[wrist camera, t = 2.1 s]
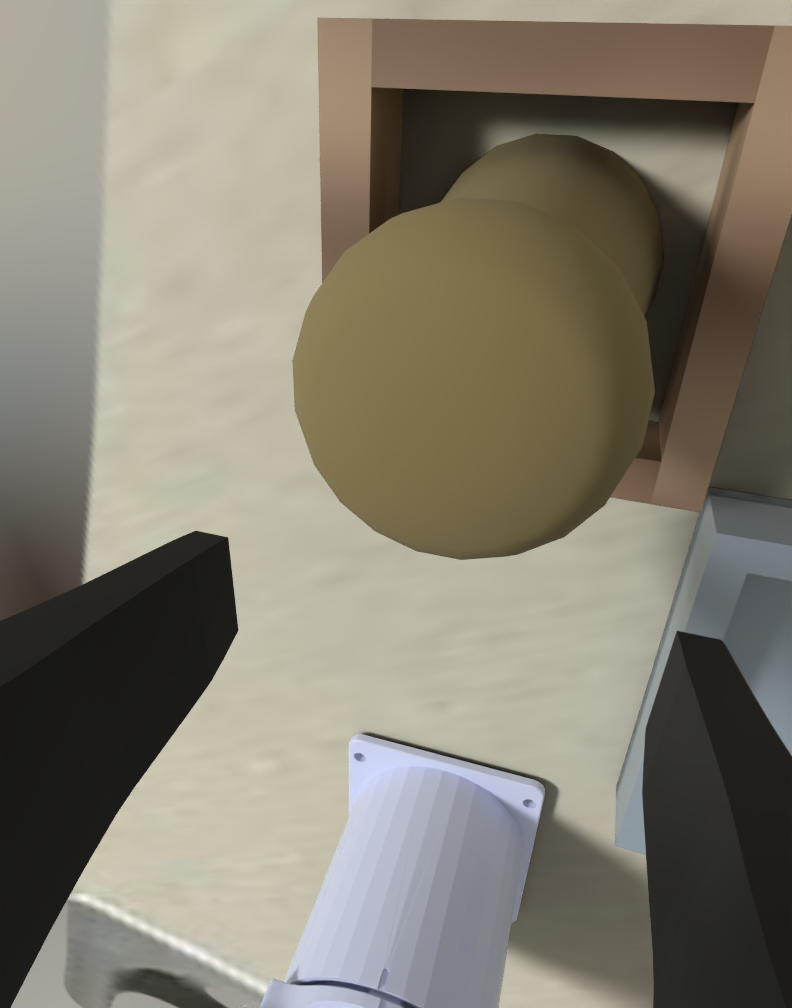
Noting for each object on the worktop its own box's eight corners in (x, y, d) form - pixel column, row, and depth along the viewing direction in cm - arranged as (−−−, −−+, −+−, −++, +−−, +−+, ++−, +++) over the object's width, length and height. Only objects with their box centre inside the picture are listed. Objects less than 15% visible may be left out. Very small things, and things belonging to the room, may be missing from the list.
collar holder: (693, 468, 19) (701, 512, 17) (355, 415, 22) (325, 449, 20) (817, 37, 14) (849, 27, 12) (357, 28, 17) (317, 17, 14)
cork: (671, 116, 16) (723, 140, 7) (657, 374, 18) (677, 643, 9) (414, 149, 17) (174, 204, 8) (436, 379, 20) (275, 607, 11)
